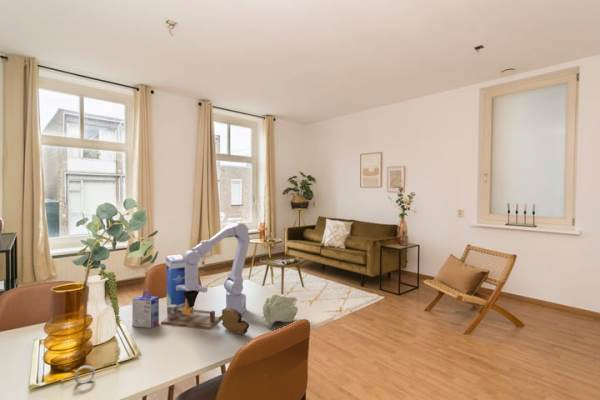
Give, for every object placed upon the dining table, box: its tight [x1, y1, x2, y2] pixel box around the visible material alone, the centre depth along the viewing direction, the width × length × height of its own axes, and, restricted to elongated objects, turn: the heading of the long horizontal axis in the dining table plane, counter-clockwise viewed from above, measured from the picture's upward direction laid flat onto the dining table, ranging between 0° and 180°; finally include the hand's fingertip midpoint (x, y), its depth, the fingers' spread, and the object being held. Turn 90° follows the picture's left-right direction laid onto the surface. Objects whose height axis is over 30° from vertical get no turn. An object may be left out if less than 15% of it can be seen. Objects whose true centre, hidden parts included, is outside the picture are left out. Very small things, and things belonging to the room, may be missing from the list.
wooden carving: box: [218, 307, 250, 336], centre depth 128 cm, size 16×5×10 cm, turn 59°
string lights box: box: [165, 253, 187, 309], centre depth 155 cm, size 13×8×26 cm, turn 34°
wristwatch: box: [74, 365, 96, 385], centre depth 95 cm, size 3×5×5 cm, turn 115°
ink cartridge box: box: [131, 290, 160, 329], centre depth 134 cm, size 10×6×14 cm, turn 78°
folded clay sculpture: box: [262, 294, 299, 329], centre depth 137 cm, size 18×13×16 cm
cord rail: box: [160, 304, 221, 330], centre depth 138 cm, size 24×10×6 cm, turn 79°
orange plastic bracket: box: [181, 298, 195, 315], centre depth 138 cm, size 4×3×7 cm
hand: (191, 306), depth 138 cm, fingers closed
